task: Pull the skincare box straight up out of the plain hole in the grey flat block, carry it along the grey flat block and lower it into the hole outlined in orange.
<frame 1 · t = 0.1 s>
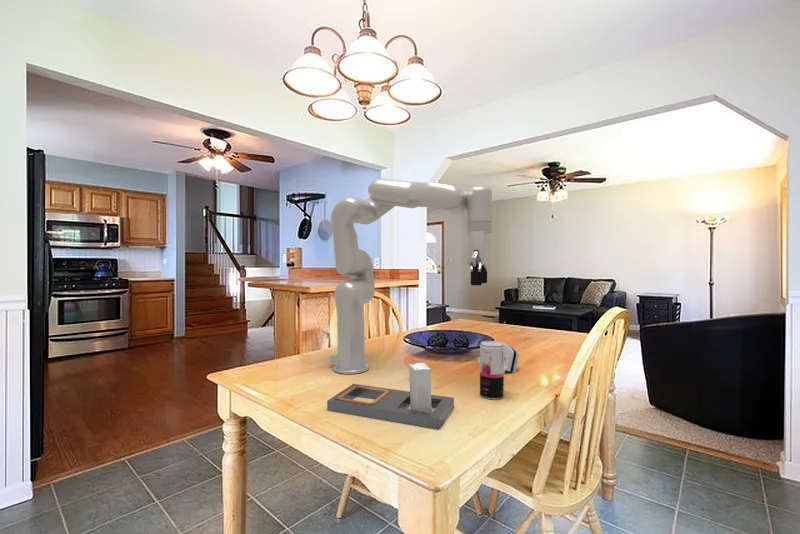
hand: (479, 284, 117), 31 cm above the table, tool pointing down, fingers open, 9 cm apart
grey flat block: (391, 408, 99), on the table
beverage can: (491, 396, 108), on the table
skincare box: (420, 414, 96), resting in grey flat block
white curved block: (498, 367, 137), on the table
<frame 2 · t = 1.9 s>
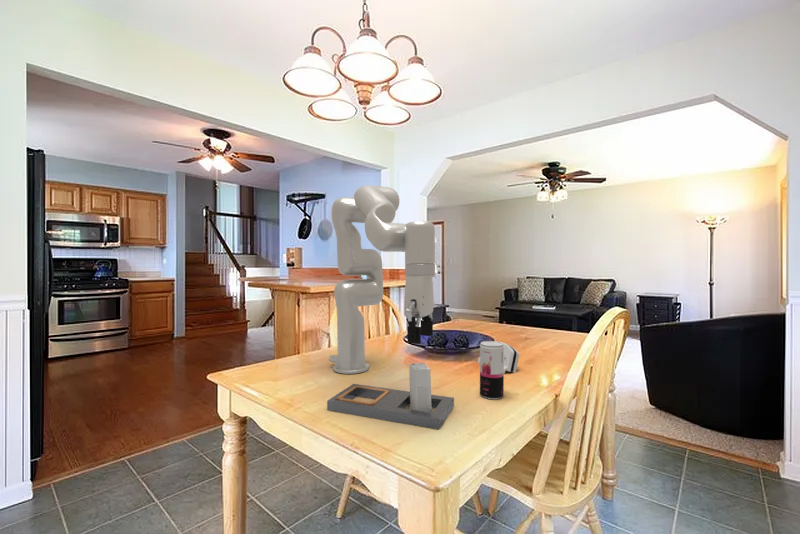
hand: (420, 339, 95), 19 cm above the table, tool pointing down, fingers open, 9 cm apart
nothing on the table moved.
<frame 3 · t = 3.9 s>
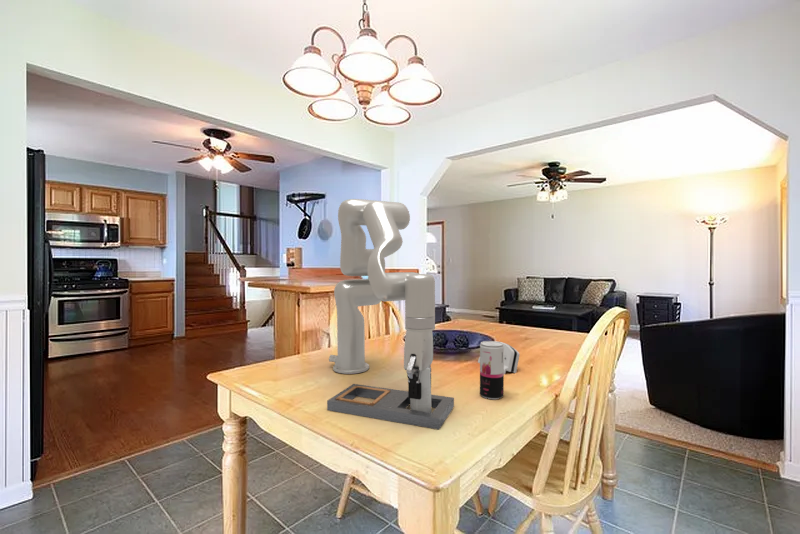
hand: (420, 392, 96), 5 cm above the table, tool pointing down, fingers closed on skincare box, 7 cm apart
skincare box: (420, 414, 96), resting in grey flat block, touching gripper
everything else where it was.
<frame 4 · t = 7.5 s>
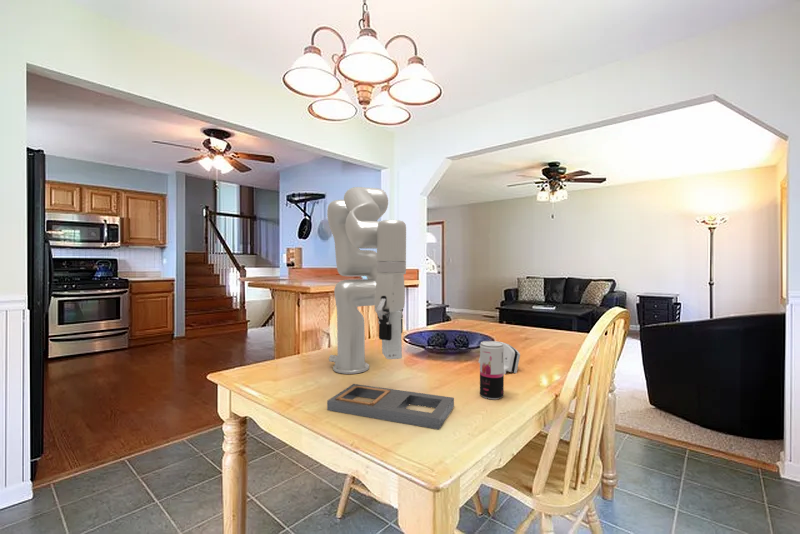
hand: (391, 335, 99), 19 cm above the table, tool pointing down, fingers closed on skincare box, 7 cm apart
skincare box: (391, 356, 99), point 14 cm above the table, touching gripper
everything else where it was.
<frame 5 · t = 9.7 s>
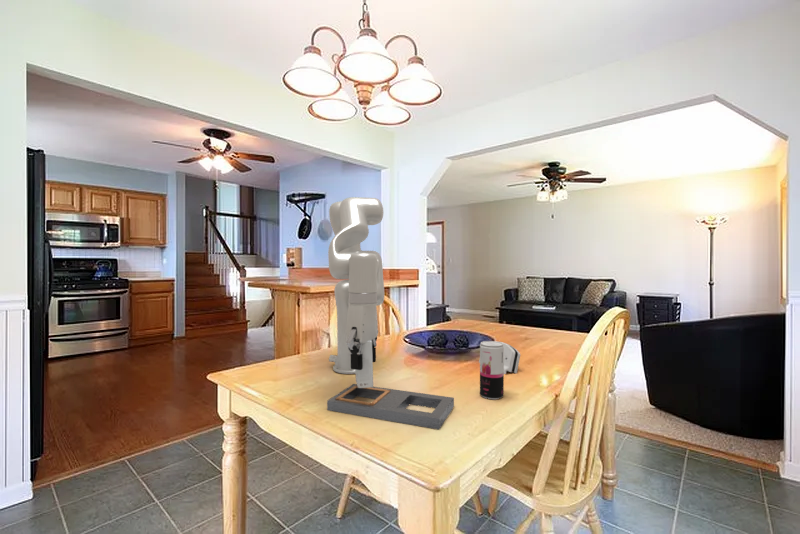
hand: (363, 364, 102), 11 cm above the table, tool pointing down, fingers closed on skincare box, 7 cm apart
skincare box: (363, 385, 102), point 5 cm above the table, touching gripper
everything else where it was.
when the fingers open (6 cm above the table, at t = 11.6 s): skincare box stays where it is, resting in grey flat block.
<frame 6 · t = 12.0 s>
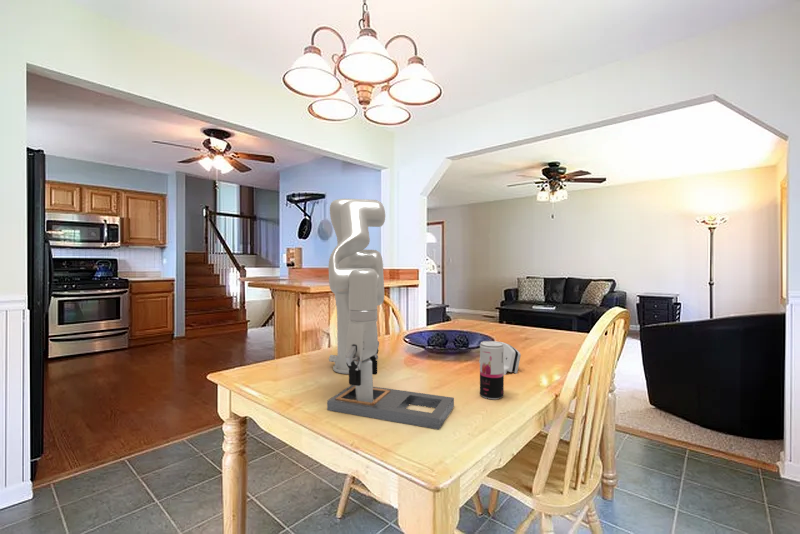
hand: (363, 379, 102), 7 cm above the table, tool pointing down, fingers open, 9 cm apart
skincare box: (363, 404, 103), resting in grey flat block
everything else where it was.
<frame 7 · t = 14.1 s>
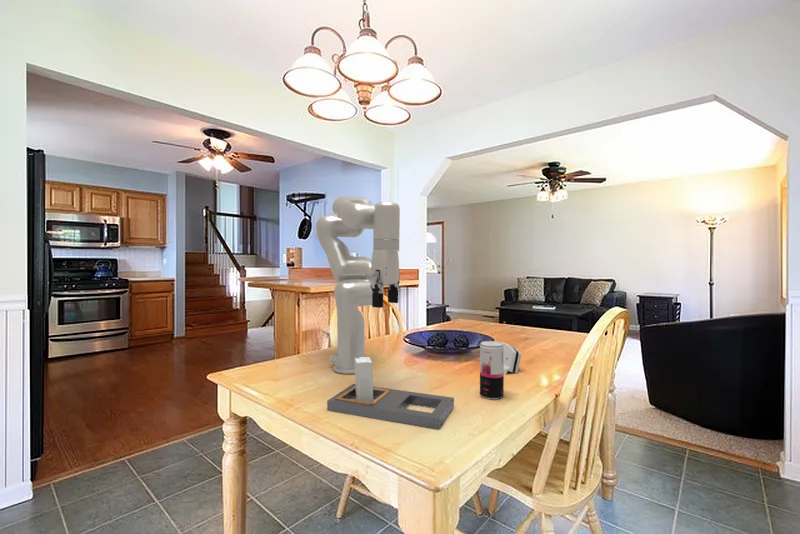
hand: (385, 304, 110), 26 cm above the table, tool pointing down, fingers open, 9 cm apart
nothing on the table moved.
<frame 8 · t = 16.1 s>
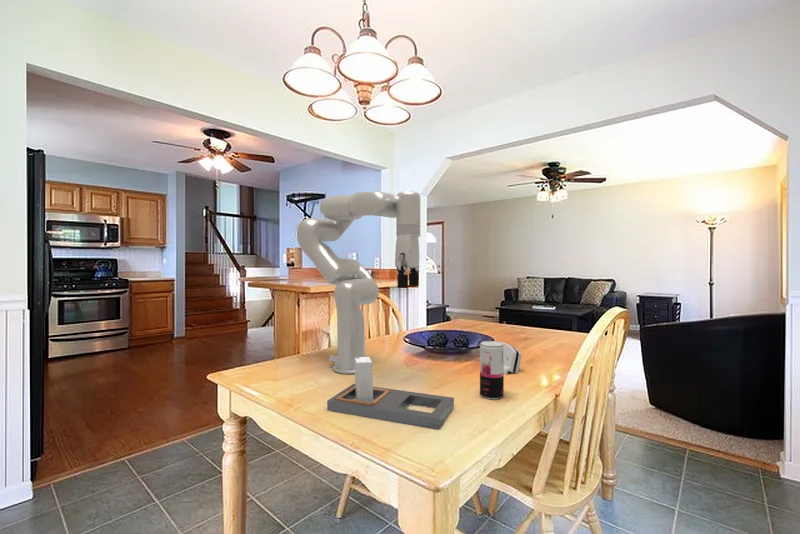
hand: (408, 286, 119), 30 cm above the table, tool pointing down, fingers open, 9 cm apart
nothing on the table moved.
at the end: skincare box 0.3 cm from the target spot on the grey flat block, point 0.0 cm above the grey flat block's base; skincare box tilted 0°; the gripper is holding nothing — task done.
